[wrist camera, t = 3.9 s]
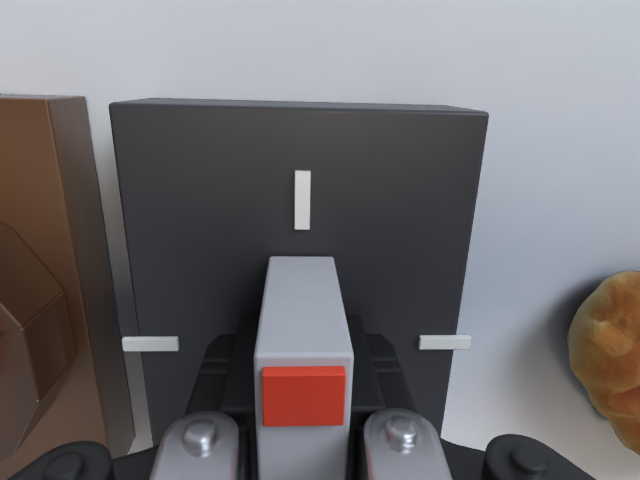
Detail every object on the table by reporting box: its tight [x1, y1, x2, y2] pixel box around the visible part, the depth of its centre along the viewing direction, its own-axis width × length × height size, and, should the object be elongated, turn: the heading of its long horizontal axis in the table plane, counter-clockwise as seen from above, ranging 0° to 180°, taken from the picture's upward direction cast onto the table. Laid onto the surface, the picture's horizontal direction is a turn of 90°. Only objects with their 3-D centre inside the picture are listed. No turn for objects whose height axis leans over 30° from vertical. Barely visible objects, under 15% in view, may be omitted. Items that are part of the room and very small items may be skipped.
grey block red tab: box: [254, 256, 354, 480], centre depth 10 cm, size 5×2×4 cm, turn 179°
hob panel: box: [109, 98, 489, 447], centre depth 13 cm, size 12×9×3 cm
